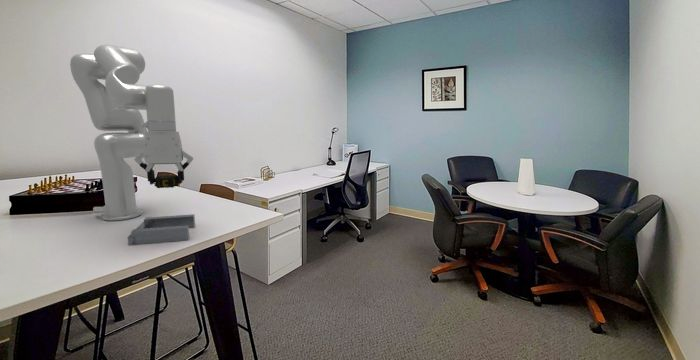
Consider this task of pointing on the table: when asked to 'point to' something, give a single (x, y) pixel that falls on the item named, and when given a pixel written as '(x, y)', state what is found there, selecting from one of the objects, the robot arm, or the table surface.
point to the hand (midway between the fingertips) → (166, 182)
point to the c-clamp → (162, 229)
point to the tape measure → (166, 181)
